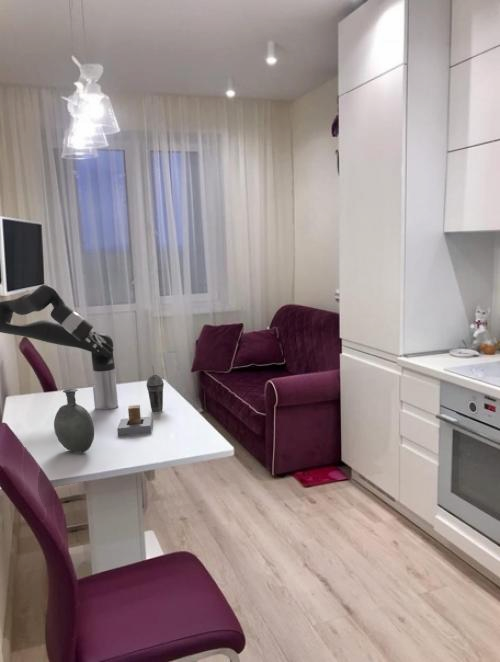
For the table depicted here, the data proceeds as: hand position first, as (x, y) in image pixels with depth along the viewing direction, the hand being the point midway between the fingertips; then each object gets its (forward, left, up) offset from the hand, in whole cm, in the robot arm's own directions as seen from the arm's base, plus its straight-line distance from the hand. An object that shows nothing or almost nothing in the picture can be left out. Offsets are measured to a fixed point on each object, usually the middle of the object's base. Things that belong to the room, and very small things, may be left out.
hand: (110, 353), depth 202 cm
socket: (+11, -3, -29) cm, 31 cm away
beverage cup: (+5, +21, -29) cm, 36 cm away
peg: (+11, -3, -29) cm, 31 cm away
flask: (+5, -29, -29) cm, 41 cm away
